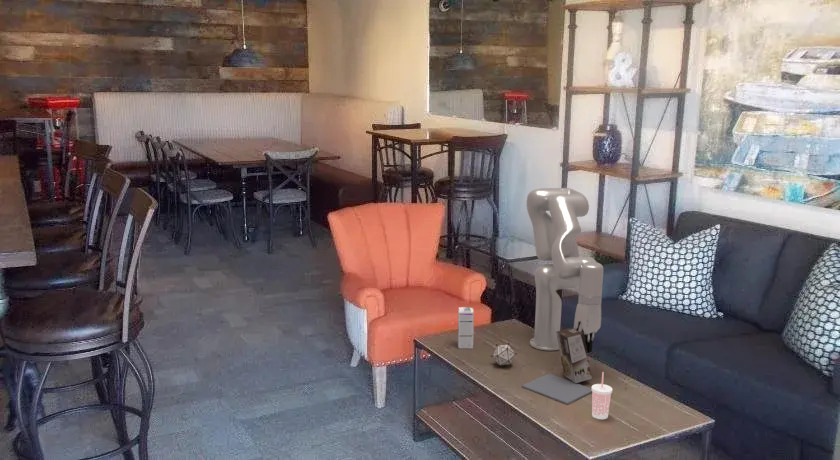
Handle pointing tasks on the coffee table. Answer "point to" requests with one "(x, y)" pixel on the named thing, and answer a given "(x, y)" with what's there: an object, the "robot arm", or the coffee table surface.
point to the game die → (503, 354)
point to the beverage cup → (601, 400)
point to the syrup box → (465, 327)
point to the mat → (557, 388)
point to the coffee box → (574, 355)
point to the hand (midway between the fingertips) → (586, 351)
